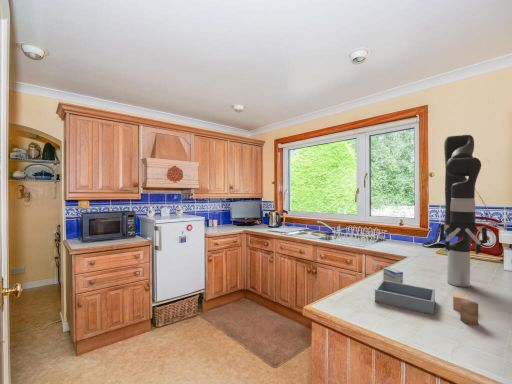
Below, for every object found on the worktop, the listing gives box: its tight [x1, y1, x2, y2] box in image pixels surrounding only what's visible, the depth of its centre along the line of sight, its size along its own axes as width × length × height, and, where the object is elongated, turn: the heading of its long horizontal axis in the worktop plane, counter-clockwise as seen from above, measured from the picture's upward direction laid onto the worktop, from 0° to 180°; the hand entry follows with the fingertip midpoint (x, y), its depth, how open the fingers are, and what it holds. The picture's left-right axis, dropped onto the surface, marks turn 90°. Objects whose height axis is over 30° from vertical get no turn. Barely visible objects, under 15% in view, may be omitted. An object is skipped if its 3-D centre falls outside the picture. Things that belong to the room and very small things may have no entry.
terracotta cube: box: [452, 292, 470, 311], centre depth 105 cm, size 5×5×5 cm
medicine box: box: [382, 267, 404, 284], centre depth 128 cm, size 8×4×9 cm, turn 21°
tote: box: [374, 279, 436, 316], centre depth 112 cm, size 16×21×5 cm
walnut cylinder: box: [459, 299, 479, 326], centre depth 95 cm, size 5×5×7 cm
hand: (462, 252), depth 101 cm, fingers open, 8 cm apart
